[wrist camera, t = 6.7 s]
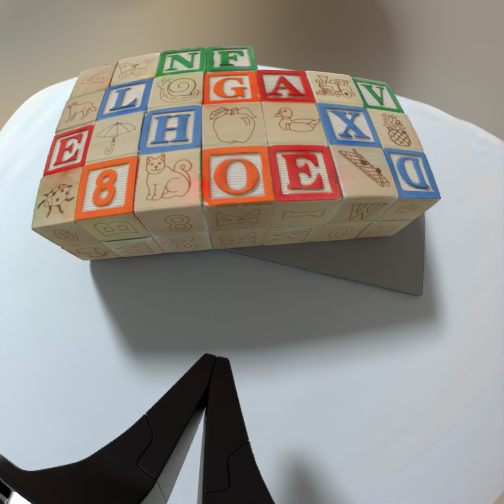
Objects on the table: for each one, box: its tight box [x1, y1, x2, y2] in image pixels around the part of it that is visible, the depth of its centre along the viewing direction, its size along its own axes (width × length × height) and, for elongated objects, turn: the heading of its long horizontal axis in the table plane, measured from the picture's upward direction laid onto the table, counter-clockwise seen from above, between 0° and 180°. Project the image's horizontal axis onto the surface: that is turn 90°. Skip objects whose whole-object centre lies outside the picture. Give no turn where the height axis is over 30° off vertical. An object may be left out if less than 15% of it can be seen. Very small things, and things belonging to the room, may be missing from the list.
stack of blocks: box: [31, 46, 441, 260], centre depth 16 cm, size 21×6×12 cm
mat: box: [223, 213, 424, 296], centre depth 19 cm, size 13×24×1 cm, turn 77°
